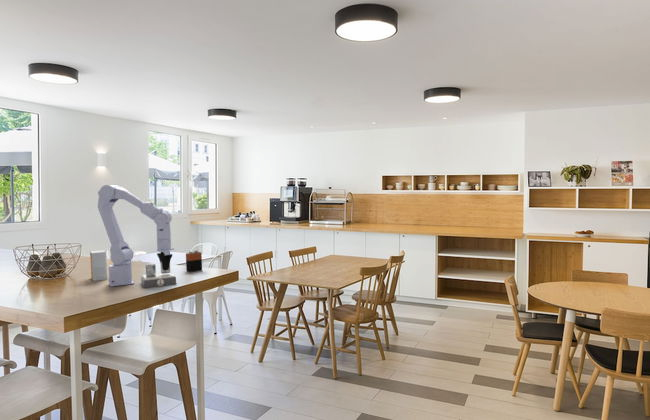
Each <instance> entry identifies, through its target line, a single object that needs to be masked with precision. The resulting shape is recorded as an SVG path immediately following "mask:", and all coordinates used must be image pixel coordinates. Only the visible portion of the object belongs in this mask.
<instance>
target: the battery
mask: <svg viewBox="0 0 650 420" xmlns="http://www.w3.org/2000/svg"><path fill="white" fill-rule="evenodd" d="M185 265H186V266H185V267H186V269H185V270H186V272H191V273H194V272H199V271H202V270H203V257H202V252H201V251H199V250H193V251H189V252H187V253H185Z"/></svg>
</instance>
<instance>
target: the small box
mask: <svg viewBox="0 0 650 420" xmlns="http://www.w3.org/2000/svg"><path fill="white" fill-rule="evenodd" d="M89 255H90V256H89V257H90V258H89V259H90V274H91V275H90V276H91V279H92V280H91V281H92V282H95V281H103V280H108V265H107V264H108V263H107V252H106V250H103V249H101V250H99V249H98V250H90V251H89Z"/></svg>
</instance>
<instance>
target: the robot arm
mask: <svg viewBox="0 0 650 420" xmlns="http://www.w3.org/2000/svg"><path fill="white" fill-rule="evenodd" d="M97 195H98V201H97V208H98V213H99V215H100V217H101V220H102V223H103V226H104V229H105V231H106V233H107V236H108V239H109V242H110V248H109V251H110V257H109V258H110V261H111V262H112V263H113V264H109V265H108V283H109V286H110V287H117V286H118V287H119V286H126V285H133V284H135V283H134V281H133V270H132V269H133V268H132V259H133V257H134V251H133V250H132V249H131V248H130V247H129V244H128V242H126V241H125V239H124V237H123V234H122V231H121V228H120V226H119V224H118V223H119V222H118V220H117V217H116V214H115V212H114V209H113V207H114V205H115V204H116V203H117V202H118V201H119V200H123V201H124V200H125V201H126V202H128V203H130V204H132V205H133V206H135V207H137V208H139V210H140V213H141V214H143V215H144V216H146V217H148V218H149V219H151V220H152V221H153V222H154V223H155V225H156V246H157V248H156V251H157V253H156V256H157V257H158V260H159V263H160V265H161V262H162V267H163V270H169V265H170V266H171V259H172V257H173V253H171V251H174V250H175V248H174V247H172V241H171V239H172V238H171V235H172V234H171V222H172V220H173V219H172V217H173V216H172V215H171V213H170V212H169V211H167V210H164V209H163V208H160V207H158V206H156V205H155V203H154V202H153V201H144V200H142V199H141V198H139V197H137V196H136V195H135V194H134V193H132V192H130V191H129V190H127V189H126V188H125V187H122V186H121V185H118V184H113V185H111V184H105V185H102V187H100V188H99V191H98V192H97Z"/></svg>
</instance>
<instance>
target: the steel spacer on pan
mask: <svg viewBox="0 0 650 420" xmlns="http://www.w3.org/2000/svg"><path fill="white" fill-rule="evenodd" d="M156 274H157V270H156V264H155V263H153V264H152V263H151V264H146V265H145V275H146V277H155V276H156Z"/></svg>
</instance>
